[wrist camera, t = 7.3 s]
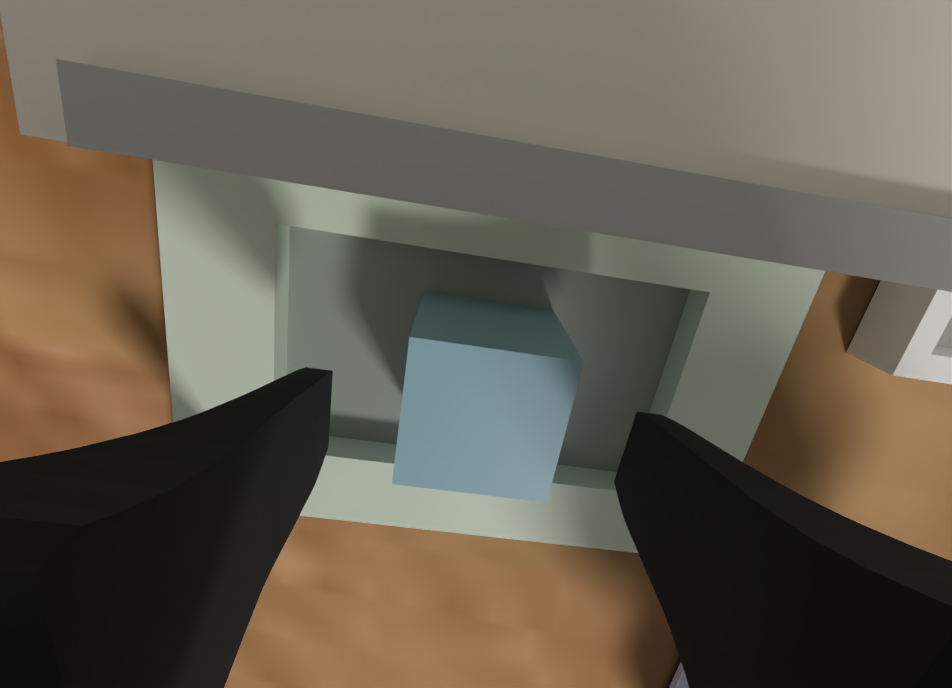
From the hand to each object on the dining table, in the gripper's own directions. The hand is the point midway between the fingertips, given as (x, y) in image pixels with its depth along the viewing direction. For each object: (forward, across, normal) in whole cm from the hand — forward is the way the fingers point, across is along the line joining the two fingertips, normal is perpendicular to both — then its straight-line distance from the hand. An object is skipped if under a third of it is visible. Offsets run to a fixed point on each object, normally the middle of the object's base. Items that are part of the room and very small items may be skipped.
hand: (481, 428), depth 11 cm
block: (+4, 0, 0) cm, 4 cm away
